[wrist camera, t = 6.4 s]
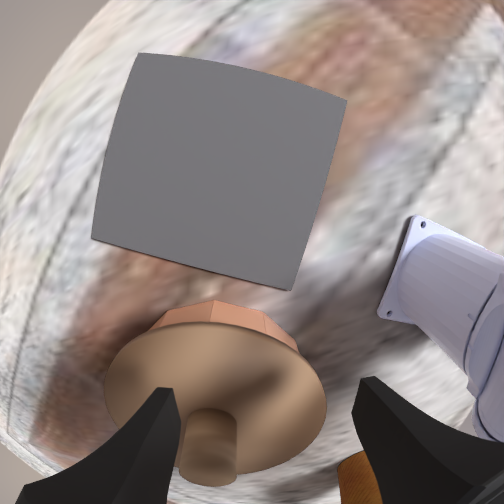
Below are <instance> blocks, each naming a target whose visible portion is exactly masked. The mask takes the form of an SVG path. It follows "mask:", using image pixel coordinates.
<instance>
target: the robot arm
mask: <svg viewBox="0 0 504 504" xmlns="http://www.w3.org/2000/svg"><path fill="white" fill-rule="evenodd" d="M422 221H423V226H422V227H421V222H422ZM388 311H390V313H389V314H387V312H388ZM377 314H378V316H379V317H380V318H383V319H388V320H393V321H399V322H404V323H410V324H415V325H417V326H418V327H419V328H420V329H421V330H422V331H423V332H425V333H426V334H427V335H428V336H429V337H430V338H431V339H432V340H433V341H434V342H435V343H436V344H437V345H438V346H439V347H440V348H441V349H442V350H443V351H444V352H445V353H446V354H447V355H448V356H449V357H450V358H451V359H452V360H453V361H454V362H455V363H456V364H457V366H458V367H459V368H460V369H461V370H462V371H463V372H464V373H465V374H466V375H467V376H468V378H469V381H468V385H467V389H468V391H469V392H470V393H471V394H472V395H473V396H474V397H475V399H476V400H475V402H474V405H473V410H472V422H473V426H474V429H475V432H476V433H477V435H478V437H479V438H478V437H475V436H472V435H469V434H466V433H464V432H461V431H458V430H456V429H454V428H451V427H449V426H447V425H445V424H443V423H441V422H439V421H437V420H436V419H434V418H432V417H431V416H429V415H427V414H426V413H424V412H423V411H421V410H419V409H418V408H417V407H415V406H414V405H412V404H411V403H409V402H408V401H407V400H405V399H404V398H403V397H401V396H400V395H399V394H397V393H396V392H395V391H394V390H392V389H391V388H390V387H388V386H387V385H386V384H385V383H383V382H382V381H381V380H379V379H378V378H377V377H375V376H372V377H366V378H361V380H360V384H359V388H358V391H357V395H356V398H355V402H354V405H353V409H352V412H351V414H352V417H353V421H354V425H355V429H356V432H357V435H358V437H359V439H360V442H361V444H362V446H363V449H364V451H365V453H366V456H367V458H368V460H369V463H370V465H371V467H372V469H373V472H374V474H375V477H376V480H377V483H378V487H379V491H380V495H381V499H382V503H383V504H504V256H501V255H499V254H497V253H494V252H492V251H489V250H487V249H485V247H483V246H481V245H479V244H477V243H475V242H473V241H471V240H470V239H468V238H466V237H464V236H462V235H460V234H458V233H456V232H454V231H452V230H449V229H447V228H445V227H443V226H441V225H439V224H437V223H435V222H432V221H430V220H428V219H426V218H424V217H421V216H419V215H414V216H413V217H412V218H411V221H410V224H409V227H408V230H407V233H406V236H405V240H404V242H403V245H402V248H401V251H400V254H399V257H398V260H397V262H396V265H395V268H394V270H393V273H392V276H391V278H390V281H389V283H388V286H387V288H386V291H385V293H384V296H383V298H382V300H381V303H380V305H379V307H378V310H377ZM180 431H181V419H180V415H179V411H178V407H177V403H176V399H175V395H174V391H173V388H166V387H157V388H156V389H155V390H154V391H153V392H152V394H151V395H150V396H149V397H148V398H147V400H146V401H145V402H144V403H143V404H142V406H141V407H140V408H139V409H138V410H137V411H136V413H135V414H134V415H133V416H132V417H131V418H130V419H129V420H128V421H127V422H126V423H125V425H124V426H123V427H122V428H120V429H119V430H118V431H117V432H116V433H115V434H114V435H113V436H112V437H111V438H110V439H109V440H108V441H107V442H105V443H104V444H103V445H102V446H101V447H99V448H98V449H97V450H95V451H94V452H93V453H91V454H90V455H88V456H87V457H86V458H84V459H83V460H81V461H79V462H78V463H76V464H75V465H73V466H71V467H69V468H67V469H65V470H63V471H61V472H59V473H57V474H55V475H53V476H50V477H48V478H45V479H42V480H39V481H36V482H33V483H30V484H26V485H24V487H23V489H22V491H21V493H20V495H19V497H18V499H17V501H16V503H15V504H166V503H167V494H168V489H169V484H170V480H171V476H172V471H173V467H174V463H175V459H176V455H177V451H178V446H179V440H180Z"/></svg>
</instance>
